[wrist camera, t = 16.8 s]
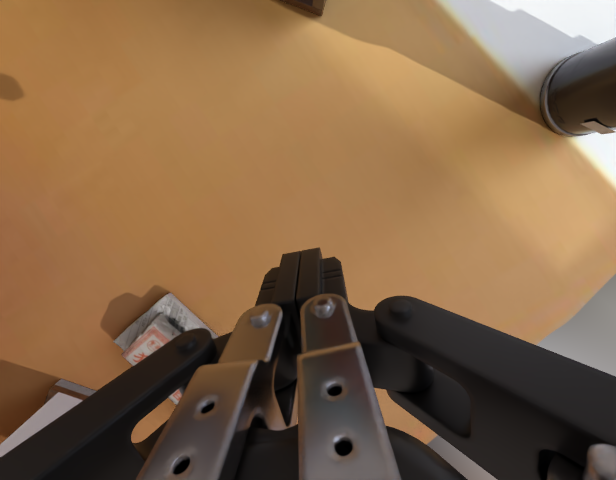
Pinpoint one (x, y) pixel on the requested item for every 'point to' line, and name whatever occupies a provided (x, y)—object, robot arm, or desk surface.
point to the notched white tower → (48, 412)
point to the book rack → (309, 5)
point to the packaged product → (158, 331)
